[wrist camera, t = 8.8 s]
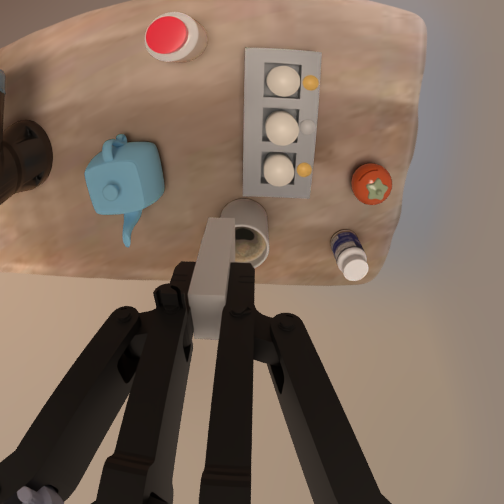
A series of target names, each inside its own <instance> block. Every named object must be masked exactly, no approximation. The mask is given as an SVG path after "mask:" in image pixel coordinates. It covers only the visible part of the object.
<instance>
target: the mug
mask: <svg viewBox="0 0 504 504" xmlns="http://www.w3.org/2000/svg"><path fill="white" fill-rule="evenodd" d="M220 218H235V262H238V263H251V264H252V266H253V267H254V268H256V267H258V266H259V265H261V264H262V263H263V262H264V261H265V259H266V258H267V256H268V253H269V236H268V219H267V214H266V211H265V210H264V208H263V207H262V206H261V205H260V204H259V203H257V202H255V201H253V200H250V199H237V200H234V201H232V202H230V203H229V204H227V205H226V206H225V207H224V209H223V210H222V213H221V216H220ZM201 243H202V241H201Z"/></svg>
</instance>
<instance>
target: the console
mask: <svg viewBox="0 0 504 504" xmlns="http://www.w3.org/2000/svg"><path fill="white" fill-rule="evenodd" d="M321 55H322V52H313V51H303V50H291V49H276V48H245V81H244V141H243V196H254V197H284V198H307V199H310V192H311V182H312V173H313V163H314V152H315V141H316V130H317V118H318V104H319V90H320V74H321ZM278 66H288V67H291V68H293V69H294V70H295V71H296V72H297V73H298V75H299V77H300V86H299V88H298V90H297V91H296V92H295V93H294V94H292V95H290V96H286V97H282V96H278V95H276V94H274V93H273V92H272V91H271V90H270V89H269V87H268V85H267V82H266V78H267V75H268V73H269V71H270V70H271V69H273V68H275V67H278ZM275 111H286V112H288V113H290V114H291V115H292V116H293V118H294V119H295V120H296V122H297V124H298V126H299V134H298V137H297V138H296V140H295V141H294V142H293V143H291V144H289V145H285V146H280V145H276V144H274V143H272V142H271V141H270V140H269V138H268V137H267V134H266V128H265V122H266V119H267V117H268V116H269V115H270V114H271V113H273V112H275ZM272 152H284V153H285V154H287V155H288V156H289V157H290V159H291V162H292V165H293V168H294V177H293V179H292V180H291V182H290V183H288V184H287V185H285V186H280V187H278V186H273V185H271V184H270V183H268V182H267V180H266V179H265V176H264V166H263V163H264V159H265V158H266V156H267V155H268V154H270V153H272Z"/></svg>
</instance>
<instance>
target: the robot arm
mask: <svg viewBox="0 0 504 504" xmlns="http://www.w3.org/2000/svg"><path fill="white" fill-rule="evenodd" d="M5 94H6V93H5V73H4V72H3V71H2V70H1V69H0V205H1V204H2V203H3V202H5V201H6V200H7V199H8V198H10V197H11V196H12V195H13V194H15V193H18V192H23V191H28V190H32V189H34V188H36V187H37V186H39V185H40V184H41V183H43V182H44V181H45V180H46V178H47V177H48V175H49V173H50V170H51V166H52V149H51V144H50V141H49V139H48V137H47V135H46V133H45V132H44V130H43V129H42V128H41V127H40V126H39V125H38V124H36V123H35V122H32V121H29V120H22V121H19V122H17V123H14V124H12V125H11V126H9V127H8V128H7V129H6V130H5V131H4V132H3V112H4V96H5ZM254 282H255V269H254V267H253V266H252V264H251V263H238V262H235V218H208V222H207V225H206V229H205V232H204V236H203V239H202V243H201V246H200V250H199V254H198V257H197V261H196V262H182V261H181V262H180V263H179V264H178V265H177V266H176V267H175V269H174V272H173V276H172V278H171V281H170V283H168V284H163V285H161V286H159V287H158V288H156V289H155V291H154V292H153V294H154V298H155V303H156V309H154V310H152V311H148V312H142V313H138V311H137V310H136V309H135V308H133V307H130V306H124V307H120V308H118V309H116V310H115V311H114V312H113V313H112V314H111V315H110V316H109V318H108V319H107V320H106V321H105V323H104V324H103V325H102V327H101V328H100V329H99V331H98V332H97V333H96V334H95V336H94V337H93V338H92V340H91V341H90V342H89V344H88V345H87V346H86V348H85V349H84V350H83V352H82V353H81V354H80V356H79V357H78V358H77V360H76V361H75V363H74V364H73V365H72V367H71V368H70V369H69V371H68V372H67V374H66V375H65V376H64V378H63V379H62V381H61V382H60V384H59V385H58V386H57V388H56V389H55V391H54V392H53V394H52V395H51V396H50V398H49V399H48V401H47V402H46V404H45V405H44V407H43V408H42V410H41V412H40V413H39V414H38V416H37V417H36V419H35V420H34V422H33V424H32V425H31V427H30V428H29V430H28V431H27V433H26V434H25V436H24V438H23V439H22V441H21V442H20V444H19V446H18V447H17V449H16V450H15V451H14V452H13V453H12V454H10V455H9V456H8V457H7V458H5V459H4V460H3V461H2V462H0V504H64V501H65V500H67V499H68V498H69V496H70V495H71V494H72V493H73V492H74V490H75V489H76V487H77V486H78V484H79V482H80V480H81V479H82V477H83V475H84V473H85V471H86V470H87V468H88V466H89V464H90V462H91V460H92V459H93V457H94V455H95V453H96V451H97V449H98V448H99V446H100V444H101V442H102V440H103V439H104V437H105V435H106V433H107V431H108V430H109V428H110V426H111V425H112V423H113V421H114V419H115V417H116V416H117V414H118V412H119V410H120V409H121V407H122V405H123V404H124V402H125V400H126V398H127V396H128V395H129V398H128V402H127V405H126V409H125V413H124V416H123V421H122V424H121V428H120V432H119V436H118V440H117V444H116V448H115V452H114V454H113V455H112V456H110V457H108V458H107V459H106V461H105V464H104V467H103V471H102V475H101V480H100V484H99V489H98V494H97V499H96V501H94V502H93V503H91V504H173V485H172V477H173V470H174V463H175V456H176V449H177V442H178V435H179V429H180V421H181V415H182V409H183V403H184V397H185V390H186V385H187V379H188V373H189V367H190V362H191V356H192V351H193V343H192V337H193V332H194V338H195V339H211V340H219V343H218V350H217V359H216V367H215V376H214V385H213V393H212V402H211V412H210V421H209V430H208V440H207V441H208V442H207V450H206V461H205V468H204V471H203V473H202V477H201V485H200V494H199V504H251V449H252V403H253V360H257V361H260V362H263V363H267V366H268V369H269V372H270V375H271V378H272V381H273V384H274V388H275V391H276V393H277V396H278V399H279V403H280V405H281V409H282V411H283V415H284V417H285V421H286V424H287V426H288V429H289V432H290V435H291V438H292V441H293V444H294V447H295V450H296V453H297V456H298V459H299V462H300V464H301V467H302V470H303V473H304V476H305V479H306V481H307V484H308V487H309V490H310V493H311V496H312V499H313V501H314V504H391V503H390V502H389V501H388V500H387V499H386V498H385V497H384V496H383V495H382V494H381V493H380V490H379V488H378V486H377V484H376V481H375V479H374V477H373V474H372V472H371V470H370V468H369V466H368V463H367V461H366V459H365V457H364V454H363V452H362V450H361V447H360V445H359V443H358V441H357V439H356V436H355V434H354V432H353V430H352V427H351V425H350V423H349V421H348V419H347V417H346V414H345V412H344V410H343V408H342V406H341V403H340V401H339V399H338V397H337V395H336V392H335V390H334V388H333V386H332V384H331V382H330V379H329V377H328V375H327V373H326V371H325V369H324V366H323V364H322V362H321V360H320V358H319V356H318V354H317V352H316V349H315V347H314V345H313V343H312V341H311V339H310V336H309V334H308V332H307V330H306V328H305V326H304V324H303V322H302V320H301V319H300V318H299V317H298V316H296V315H294V314H291V313H281V314H278V315H276V316H275V317H273V318H271V317H268V316H265V315H262V314H261V313H259V312H258V311H257V310H256V308H255V305H254ZM129 393H130V394H129Z"/></svg>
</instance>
